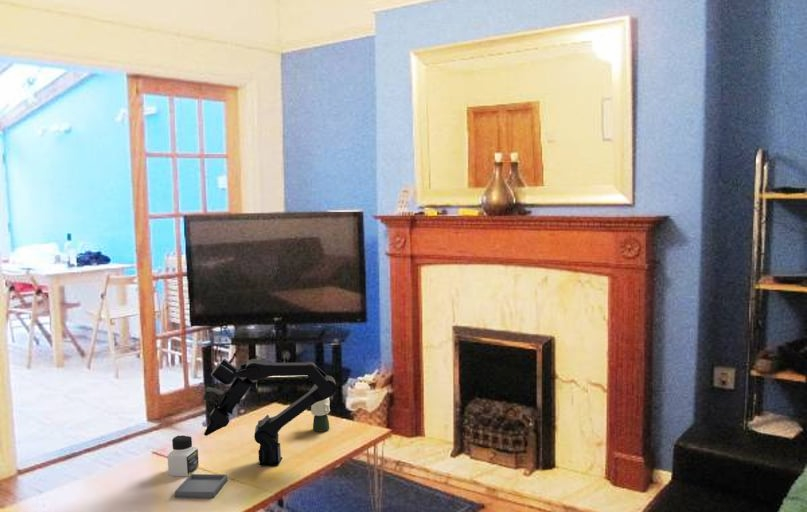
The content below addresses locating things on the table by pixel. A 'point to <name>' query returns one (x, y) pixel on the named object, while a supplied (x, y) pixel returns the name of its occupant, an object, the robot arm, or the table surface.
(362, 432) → the table surface
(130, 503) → the table surface
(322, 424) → the character mug
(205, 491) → the tray
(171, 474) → the medicine bottle
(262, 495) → the table surface
